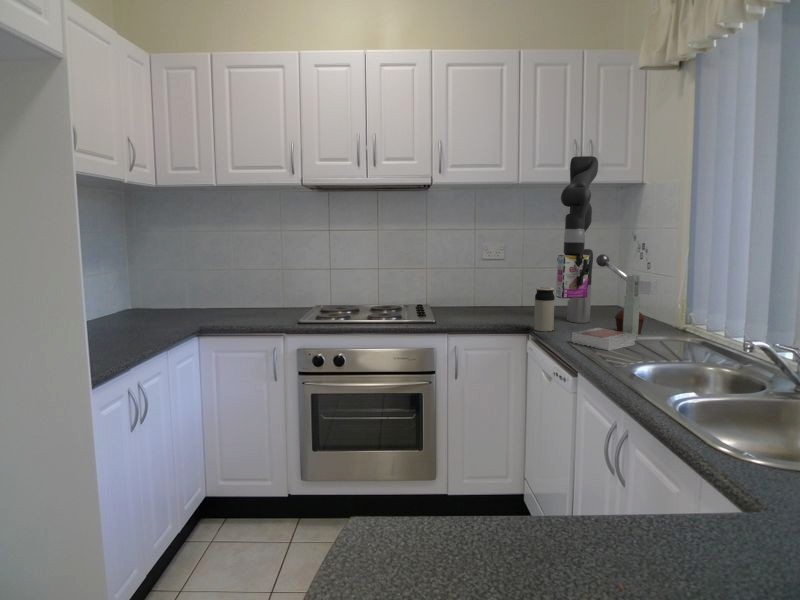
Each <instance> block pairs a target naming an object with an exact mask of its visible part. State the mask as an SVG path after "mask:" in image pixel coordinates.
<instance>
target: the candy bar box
mask: <svg viewBox="0 0 800 600" xmlns="http://www.w3.org/2000/svg"><path fill="white" fill-rule="evenodd" d="M583 257H584V259H589V255H583ZM557 258H558V261H557V265H556V266H557V269H556V287H555V289H556V290H555V291H556V292H555V293H556V295H555V297H556V298H559V299H561V300H562V299H570V298H586V297H587V292H588V275H584V276H583V285H582V286H577V276H578V275H577V272H576V271H575V263H574V261H575V262H576V256H575V255H565V254H559V255H557ZM582 263H583V262H582ZM582 266H583V264H581V265H580V266H578V268H581V267H582ZM588 273H589V272H588Z"/></svg>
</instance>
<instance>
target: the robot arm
mask: <svg viewBox="0 0 800 600" xmlns="http://www.w3.org/2000/svg"><path fill="white" fill-rule="evenodd" d="M598 171H599V161H598V158H597V157H596V156H591V155H590V156H588V155H586V156H582V155H581V156H573V157H572V158H571V160H570V163H569V180H570V181H569V182H570V183H569V184H568V185H567V186H566V187H564V189H563V190H562V192H561V195H560V201H561V203H562V205H563V206H565V207H567V208H569V213H567V214H566V215H565V218H564V219H565V220H564V221H565V222H564V233H563V255H575V256H576V262H575V261H574V263H575V271H576V272H577V275H578V276H577V286H582V285H583V276H584V275H588V292H587V297H586V298H569V299H568V300H567V312H566V313H567V314H566V321H568V322H571V323H577V324H586V323H590V321H591V303H592V302H591V301H592V300H591V299H592V278H593V277H592V276H593V275H592V273H593V266H594V265H593V264H594V253H593V252H594V251H593V250H592V249H590V248H585V246H586V245H585V242H586V234H585V233H586V232H587V231H588V229H589V228H590V226H591V224H592V214H593V208H592V205H591V203H590V201H591V199H592V192H591V190H590V189H589V188H590V184H591V183H592V182H593V181H594V180H595V178H597V174H598ZM583 255H589V259H584V257H583ZM556 261H557V262H558V257H557V260H556ZM582 262H583V263H582ZM581 264H583V266H582V267H581V268H578V266H580V265H581ZM588 272H589V273H588Z"/></svg>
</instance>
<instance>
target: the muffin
mask: <svg viewBox="0 0 800 600" xmlns="http://www.w3.org/2000/svg"><path fill="white" fill-rule="evenodd" d="M614 319H615V325H616V331H619V332H623V319H624V308H623V309H621V310H620V311H619V312H617V314H616V315H615V316H614ZM644 320H645V316H643V314H642V313H641V312H640V311H639V325H638V334H639V335H642V334H641V333H642V328H643V325H644Z"/></svg>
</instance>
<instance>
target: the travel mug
mask: <svg viewBox="0 0 800 600" xmlns="http://www.w3.org/2000/svg"><path fill="white" fill-rule="evenodd" d="M535 290H536V293H535V295H534V318H533V319H534V321H533V324H534V327H533V329H534V331H537V332H541V333H542V332H543V333H544V332H546V333H548V332H547V331H550V332H553V331H554V328H555V323H554V322H555V321H554V319H555V297H556V295H555V294H554V290H555V288H554V287H548V286H547V287H545V286H538V287H536V288H535ZM552 330H553V331H552Z"/></svg>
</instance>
